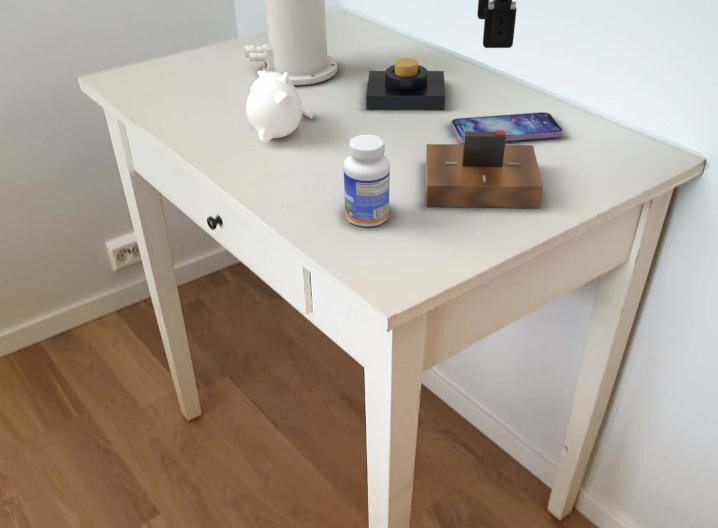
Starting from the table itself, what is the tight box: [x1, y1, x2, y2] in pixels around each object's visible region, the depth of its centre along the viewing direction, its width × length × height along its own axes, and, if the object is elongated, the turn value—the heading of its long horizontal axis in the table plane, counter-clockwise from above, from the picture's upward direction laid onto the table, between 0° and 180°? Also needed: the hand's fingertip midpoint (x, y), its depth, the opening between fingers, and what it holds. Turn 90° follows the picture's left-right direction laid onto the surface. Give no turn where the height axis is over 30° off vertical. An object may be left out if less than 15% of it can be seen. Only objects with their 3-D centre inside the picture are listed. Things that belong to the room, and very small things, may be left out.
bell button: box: [394, 57, 419, 77], centre depth 112 cm, size 4×4×2 cm
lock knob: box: [462, 130, 507, 167], centre depth 91 cm, size 5×1×4 cm, turn 87°
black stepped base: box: [365, 64, 446, 111], centre depth 114 cm, size 12×10×4 cm
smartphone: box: [450, 111, 564, 144], centre depth 105 cm, size 7×1×15 cm
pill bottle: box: [343, 134, 391, 228], centre depth 86 cm, size 5×5×10 cm
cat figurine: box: [245, 69, 314, 144], centre depth 105 cm, size 9×11×12 cm
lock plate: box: [425, 143, 544, 209], centre depth 93 cm, size 14×11×3 cm
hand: (493, 32), depth 83 cm, fingers open, 9 cm apart
